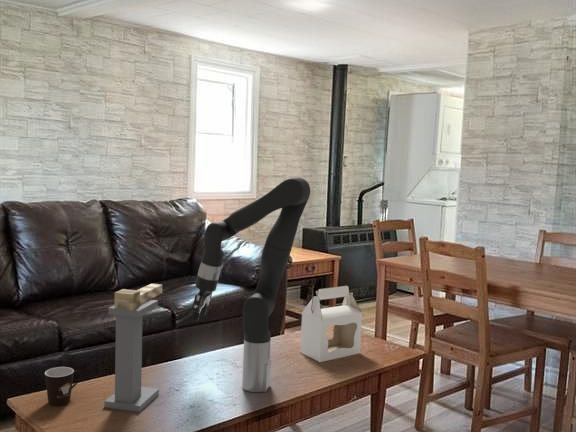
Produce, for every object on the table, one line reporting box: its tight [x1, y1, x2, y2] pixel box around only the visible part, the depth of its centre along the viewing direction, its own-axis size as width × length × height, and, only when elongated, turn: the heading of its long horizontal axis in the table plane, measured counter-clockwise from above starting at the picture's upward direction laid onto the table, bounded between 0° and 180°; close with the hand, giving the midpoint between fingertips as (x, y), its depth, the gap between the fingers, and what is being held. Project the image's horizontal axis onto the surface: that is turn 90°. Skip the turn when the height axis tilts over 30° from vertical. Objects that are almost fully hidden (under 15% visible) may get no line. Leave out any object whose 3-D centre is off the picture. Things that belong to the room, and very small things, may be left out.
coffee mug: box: [44, 366, 83, 407], centre depth 186 cm, size 12×9×10 cm
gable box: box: [299, 285, 363, 363], centre depth 243 cm, size 22×13×28 cm, turn 126°
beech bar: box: [113, 283, 163, 310], centre depth 190 cm, size 24×6×5 cm, turn 168°
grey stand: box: [103, 299, 160, 413], centre depth 187 cm, size 12×14×32 cm
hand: (198, 318), depth 210 cm, fingers open, 8 cm apart
